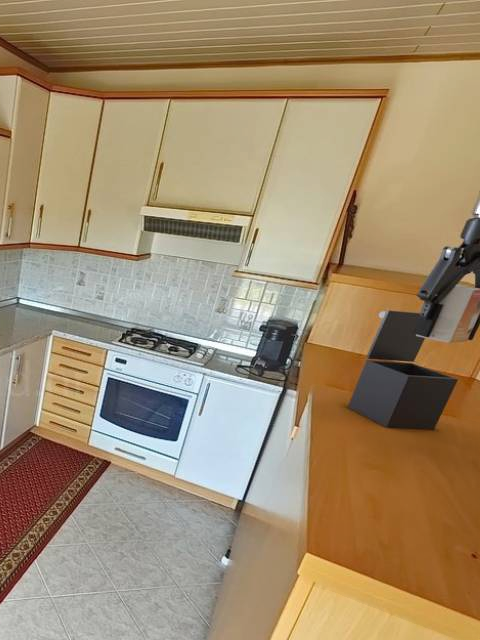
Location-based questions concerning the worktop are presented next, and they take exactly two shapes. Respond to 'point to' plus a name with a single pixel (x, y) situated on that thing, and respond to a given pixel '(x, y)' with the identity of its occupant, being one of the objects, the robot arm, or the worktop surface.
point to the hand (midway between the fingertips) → (442, 336)
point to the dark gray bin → (401, 394)
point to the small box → (457, 315)
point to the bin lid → (396, 337)
